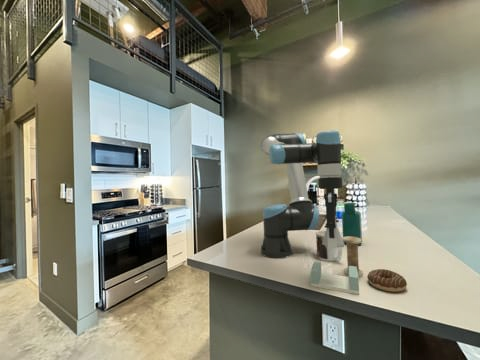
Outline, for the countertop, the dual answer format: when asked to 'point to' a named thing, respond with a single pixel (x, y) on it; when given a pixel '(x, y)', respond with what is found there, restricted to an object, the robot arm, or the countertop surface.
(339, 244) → the flask
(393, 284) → the donut
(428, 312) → the countertop surface
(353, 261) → the bobbin
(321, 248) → the mug
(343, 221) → the green bottle
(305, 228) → the robot arm
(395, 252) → the countertop surface
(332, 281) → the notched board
